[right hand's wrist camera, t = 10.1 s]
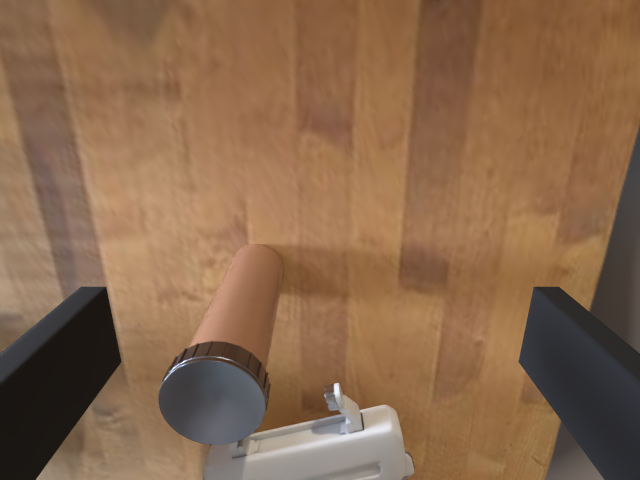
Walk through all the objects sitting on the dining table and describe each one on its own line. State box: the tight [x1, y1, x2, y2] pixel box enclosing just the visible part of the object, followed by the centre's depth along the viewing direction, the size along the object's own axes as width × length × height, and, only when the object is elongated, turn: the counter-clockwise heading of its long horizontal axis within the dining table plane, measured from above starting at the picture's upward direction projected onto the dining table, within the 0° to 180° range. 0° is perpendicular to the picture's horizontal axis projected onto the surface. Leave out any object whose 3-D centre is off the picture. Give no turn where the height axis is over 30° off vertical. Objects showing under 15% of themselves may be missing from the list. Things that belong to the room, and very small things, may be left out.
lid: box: [159, 341, 270, 445], centre depth 24 cm, size 6×6×2 cm
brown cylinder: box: [188, 244, 284, 370], centre depth 33 cm, size 5×5×18 cm
